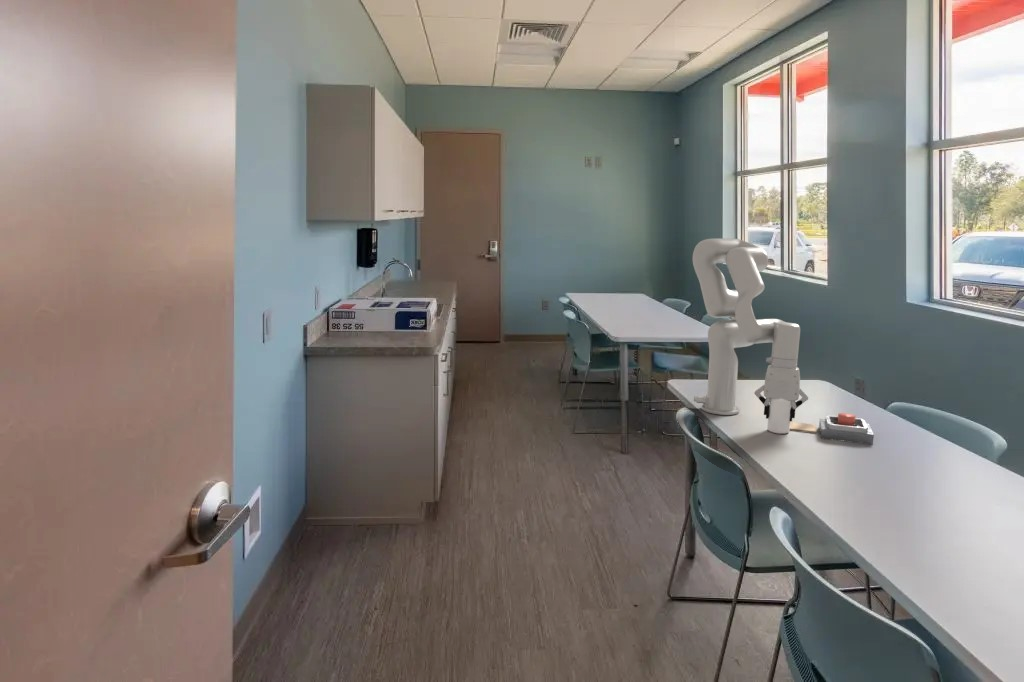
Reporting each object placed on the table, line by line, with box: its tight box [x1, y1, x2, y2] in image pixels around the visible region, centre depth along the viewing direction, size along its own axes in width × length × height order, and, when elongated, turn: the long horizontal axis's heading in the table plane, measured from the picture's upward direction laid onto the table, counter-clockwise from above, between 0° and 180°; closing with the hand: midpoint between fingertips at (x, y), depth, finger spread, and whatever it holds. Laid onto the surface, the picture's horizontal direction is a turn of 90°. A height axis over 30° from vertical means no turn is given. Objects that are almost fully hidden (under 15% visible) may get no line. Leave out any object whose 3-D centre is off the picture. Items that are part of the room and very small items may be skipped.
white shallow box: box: [818, 414, 875, 445], centre depth 204 cm, size 14×12×4 cm
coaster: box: [789, 421, 818, 434], centre depth 212 cm, size 8×8×1 cm
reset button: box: [837, 412, 857, 426], centre depth 204 cm, size 5×5×3 cm
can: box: [766, 398, 792, 435], centre depth 207 cm, size 6×6×12 cm
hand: (778, 418), depth 208 cm, fingers closed on can, 6 cm apart
